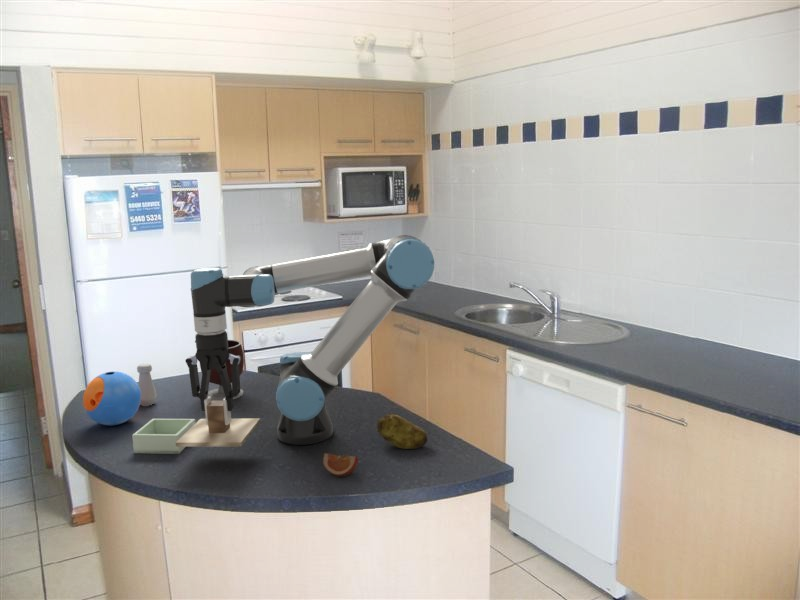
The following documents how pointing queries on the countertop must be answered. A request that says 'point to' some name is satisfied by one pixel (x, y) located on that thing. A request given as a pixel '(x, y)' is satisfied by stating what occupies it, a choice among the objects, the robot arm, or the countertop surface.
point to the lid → (218, 429)
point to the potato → (401, 432)
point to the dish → (161, 436)
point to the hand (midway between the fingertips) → (218, 422)
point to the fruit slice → (340, 464)
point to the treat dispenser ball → (112, 398)
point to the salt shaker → (146, 385)
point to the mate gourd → (218, 393)
